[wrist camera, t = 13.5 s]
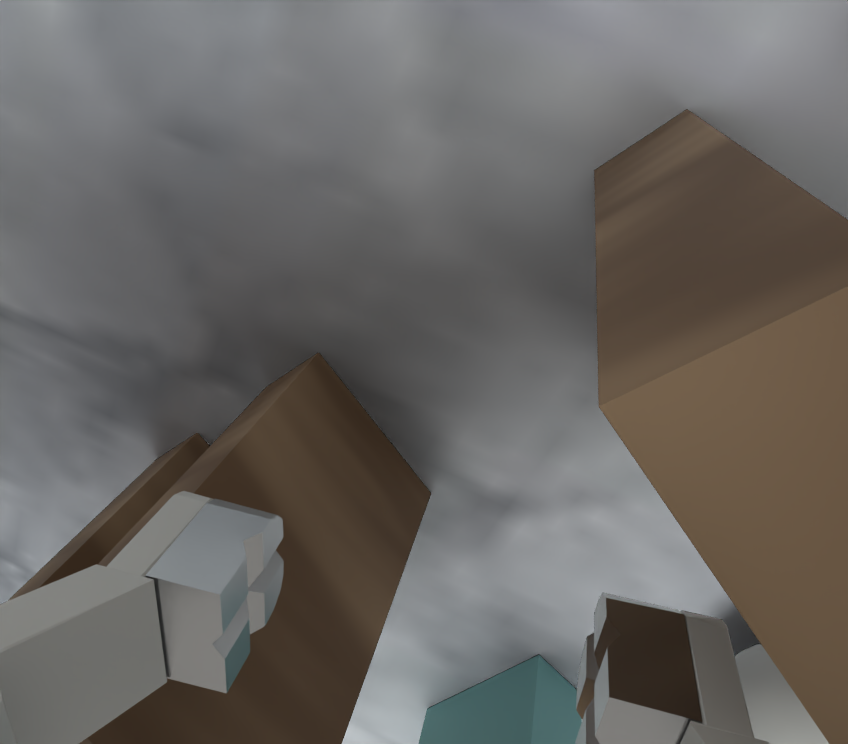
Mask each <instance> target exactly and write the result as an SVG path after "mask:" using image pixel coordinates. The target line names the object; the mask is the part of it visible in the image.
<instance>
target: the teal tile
mask: <svg viewBox="0 0 848 744" xmlns="http://www.w3.org/2000/svg"><path fill="white" fill-rule="evenodd" d="M576 697H577V690H576V689H575V688H574V687H573V686H572V685H571V684H570V683H569V682H568V681H567V680H566V679H565V678H563V677H562V676H561V675H560V674H559V673H558V672H557V671H556V670H555V669H554V668H553V667H552V666H550V665H549V664H548V663H547V662H546V661H545V660H544V659H543V658H542V657H541V656H540V655H537V656H535V657H533V658H531V659H529V660H527V661H525V662H523V663H521V664H519V665H517V666H515V667H512V668H510V669H508V670H506V671H504V672H502V673H500V674H498V675H496V676H494V677H492V678H490V679H488V680H486V681H484V682H482V683H480V684H477V685H475V686H473V687H471V688H469V689H467V690H465V691H463V692H461V693H459V694H457V695H455V696H453V697H451V698H449V699H447V700H444V701H442V702H440V703H438V704H436V705H434V706H432V707H430V708H428V709H427V712H426V716H425V720H424V724H423V728H422V732H421V736H420V740H419V744H575V741H576V738H577V735H578V732H579V729H580V726H581V723H582V718H581V717H580V715H579V714H578V712H577V710H576Z"/></svg>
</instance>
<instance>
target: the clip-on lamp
mask: <svg viewBox="0 0 848 744" xmlns="http://www.w3.org/2000/svg"><path fill="white" fill-rule="evenodd" d="M735 660H736V664H737V668H738V672H739V676H740V680H741V685H742V689H743V693H744V697H745V701H746V705H747V709H748V713H749V718H750V722H751V726H752V730H753V734H754V738H757V739H760V740H764V741H767V742H769V744H829V743H828V741H827V740H826V738H825V737H824V735H823V734H822V732H821V731H820V729H819V728H818V726H817V725H816V724H815V722H814V721H813V719H812V718H811V716H810V715H809V713H808V712H807V710H806V709H805V707H804V706H803V705H802V703H801V702H800V700H799V699H798V697H797V696H796V694H795V693H794V691H793V690H792V688H791V687H790V686H789V684H788V683H787V681H786V680H785V678H784V677H783V675H782V674H781V672H780V671H779V669H778V668H777V667H776V665H775V664H774V662H773V661H772V659H771V658H770V656H769V655H768V653H767V652H766V650H765V649H764V648H763V646H762V645H761V644H758V645H754V646H752V647H750V648H748V649H745V650H743V651H741V652H739V653H738V654H737V655H736V656H735Z"/></svg>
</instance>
